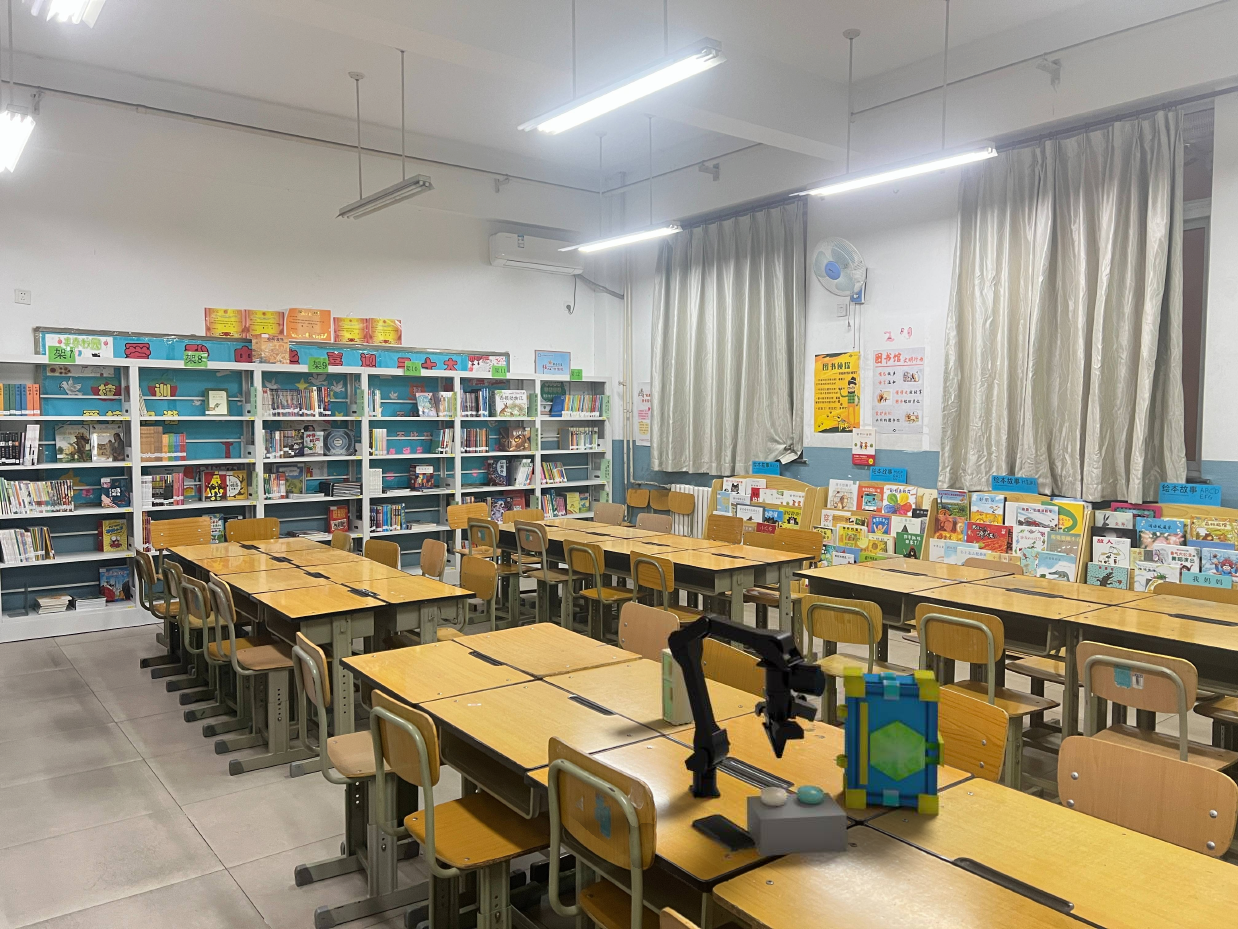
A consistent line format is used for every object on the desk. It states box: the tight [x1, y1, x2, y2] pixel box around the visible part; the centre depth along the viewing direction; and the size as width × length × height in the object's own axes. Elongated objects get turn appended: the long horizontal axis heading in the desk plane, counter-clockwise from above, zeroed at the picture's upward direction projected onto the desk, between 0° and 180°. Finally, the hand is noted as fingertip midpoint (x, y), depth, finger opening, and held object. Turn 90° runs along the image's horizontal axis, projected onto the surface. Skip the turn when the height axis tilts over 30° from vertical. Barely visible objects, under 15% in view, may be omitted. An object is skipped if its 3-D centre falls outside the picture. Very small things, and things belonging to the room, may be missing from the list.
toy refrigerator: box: [660, 647, 694, 726], centre depth 256 cm, size 8×7×21 cm
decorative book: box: [835, 666, 945, 816], centre depth 199 cm, size 14×23×30 cm, turn 78°
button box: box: [746, 792, 848, 857], centre depth 181 cm, size 11×18×8 cm, turn 96°
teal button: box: [796, 784, 824, 804], centre depth 184 cm, size 5×5×5 cm
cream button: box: [760, 786, 788, 806], centre depth 183 cm, size 5×5×5 cm
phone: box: [691, 813, 755, 853], centre depth 184 cm, size 8×1×15 cm
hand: (778, 757), depth 192 cm, fingers closed
